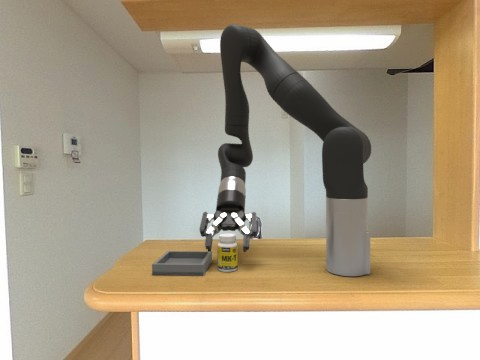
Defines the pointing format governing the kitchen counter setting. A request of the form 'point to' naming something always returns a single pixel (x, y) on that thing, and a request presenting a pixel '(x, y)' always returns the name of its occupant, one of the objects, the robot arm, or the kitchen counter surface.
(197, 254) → the tray
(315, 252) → the kitchen counter surface
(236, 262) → the supplement bottle
